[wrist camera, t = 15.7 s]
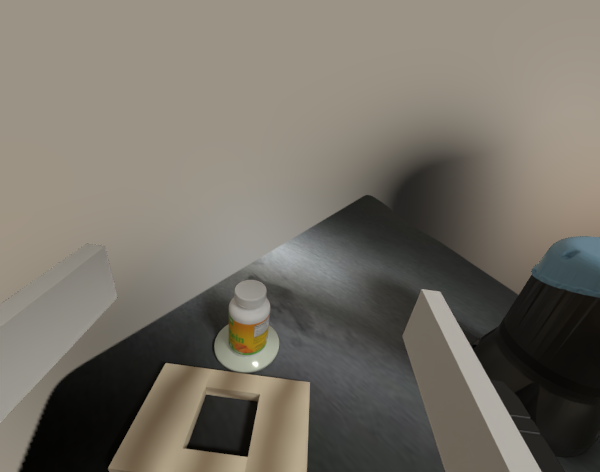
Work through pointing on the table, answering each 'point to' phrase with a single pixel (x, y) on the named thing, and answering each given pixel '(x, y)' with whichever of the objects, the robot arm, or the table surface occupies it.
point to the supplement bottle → (248, 319)
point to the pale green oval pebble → (245, 363)
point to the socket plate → (184, 412)
